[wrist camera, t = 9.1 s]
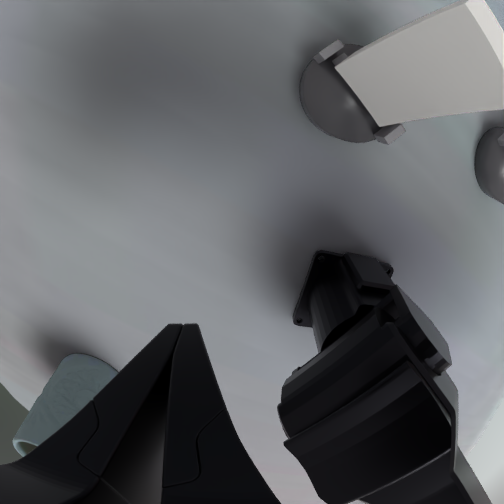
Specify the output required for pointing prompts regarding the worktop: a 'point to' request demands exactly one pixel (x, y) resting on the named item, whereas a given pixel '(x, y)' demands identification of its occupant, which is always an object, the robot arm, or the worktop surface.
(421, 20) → the block
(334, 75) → the grey switch base
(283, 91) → the worktop surface
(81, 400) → the grey green cup
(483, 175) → the dark rounded piece
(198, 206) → the worktop surface
